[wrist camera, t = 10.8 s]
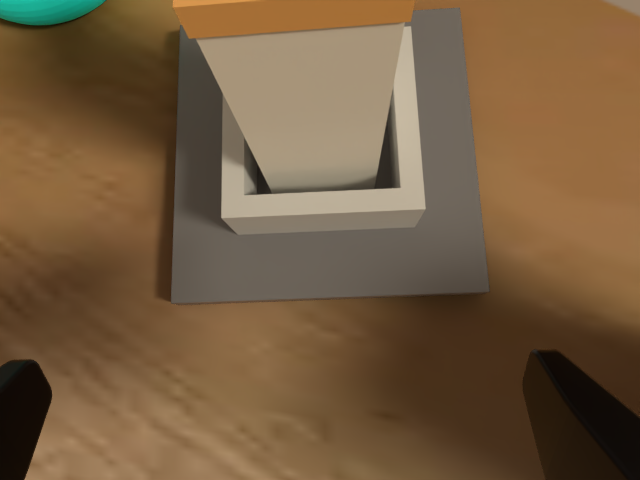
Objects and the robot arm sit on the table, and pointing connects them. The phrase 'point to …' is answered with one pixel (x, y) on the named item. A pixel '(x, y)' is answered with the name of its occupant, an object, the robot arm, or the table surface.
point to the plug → (305, 82)
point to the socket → (334, 194)
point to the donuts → (45, 10)
